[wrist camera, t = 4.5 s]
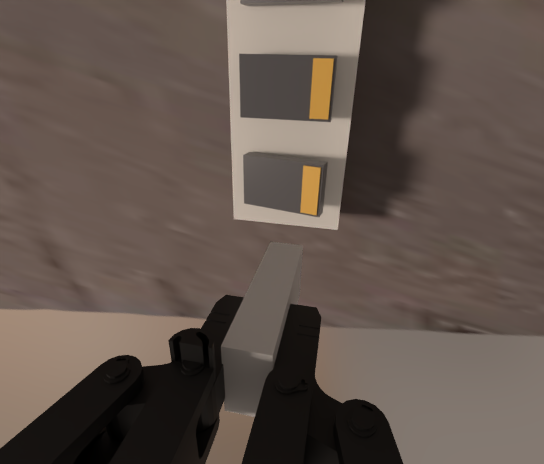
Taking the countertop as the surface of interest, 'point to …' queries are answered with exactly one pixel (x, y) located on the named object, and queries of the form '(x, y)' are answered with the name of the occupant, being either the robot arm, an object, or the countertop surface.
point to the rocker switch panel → (292, 133)
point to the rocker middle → (287, 86)
